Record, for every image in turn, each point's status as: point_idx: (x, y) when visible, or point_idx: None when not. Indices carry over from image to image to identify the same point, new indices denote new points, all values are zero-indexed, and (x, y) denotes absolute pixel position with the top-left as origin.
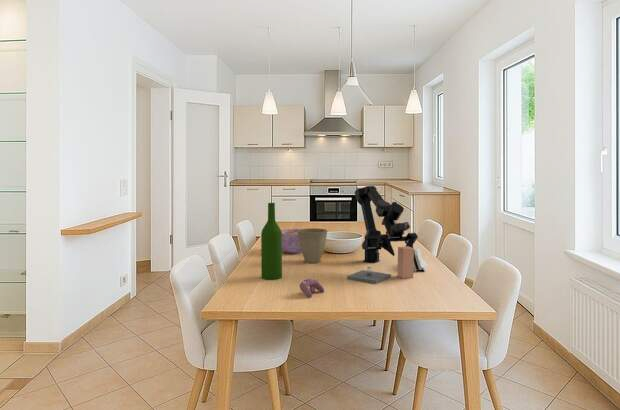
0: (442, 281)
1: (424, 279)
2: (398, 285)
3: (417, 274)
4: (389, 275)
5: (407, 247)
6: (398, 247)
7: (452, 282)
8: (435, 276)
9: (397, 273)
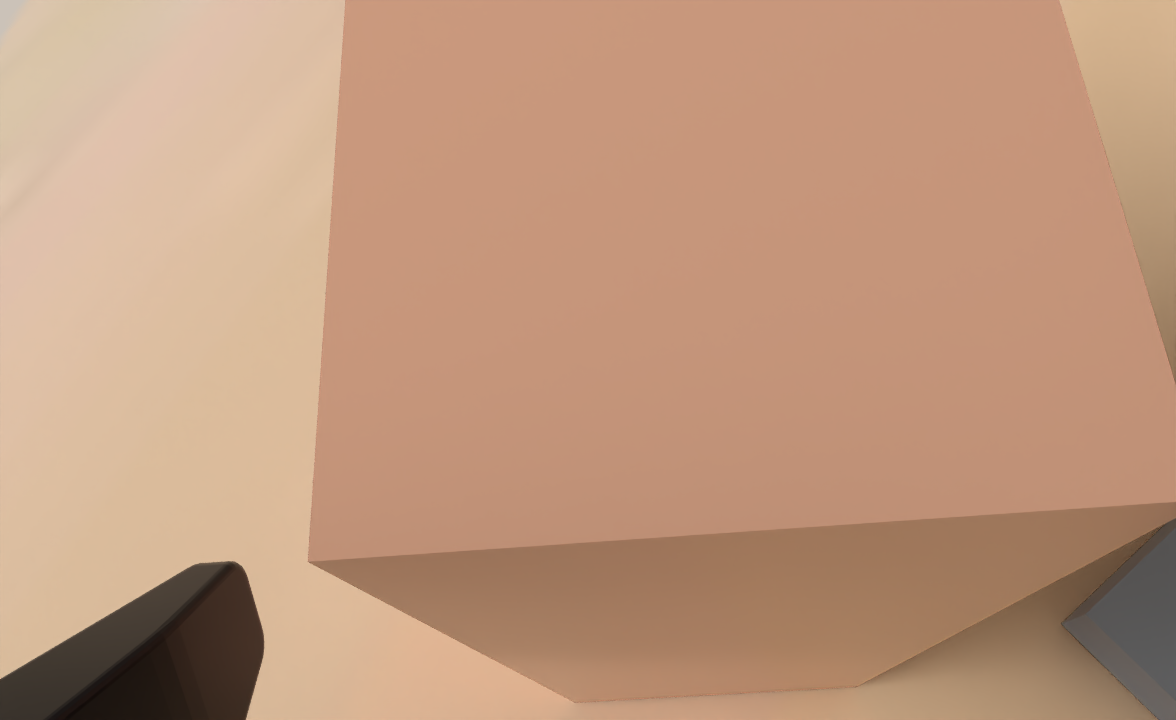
0: (208, 102)
1: None
2: (1091, 6)
3: (308, 700)
4: (1140, 557)
5: (583, 170)
6: (1174, 434)
7: (106, 28)
8: (70, 434)
9: (865, 680)
